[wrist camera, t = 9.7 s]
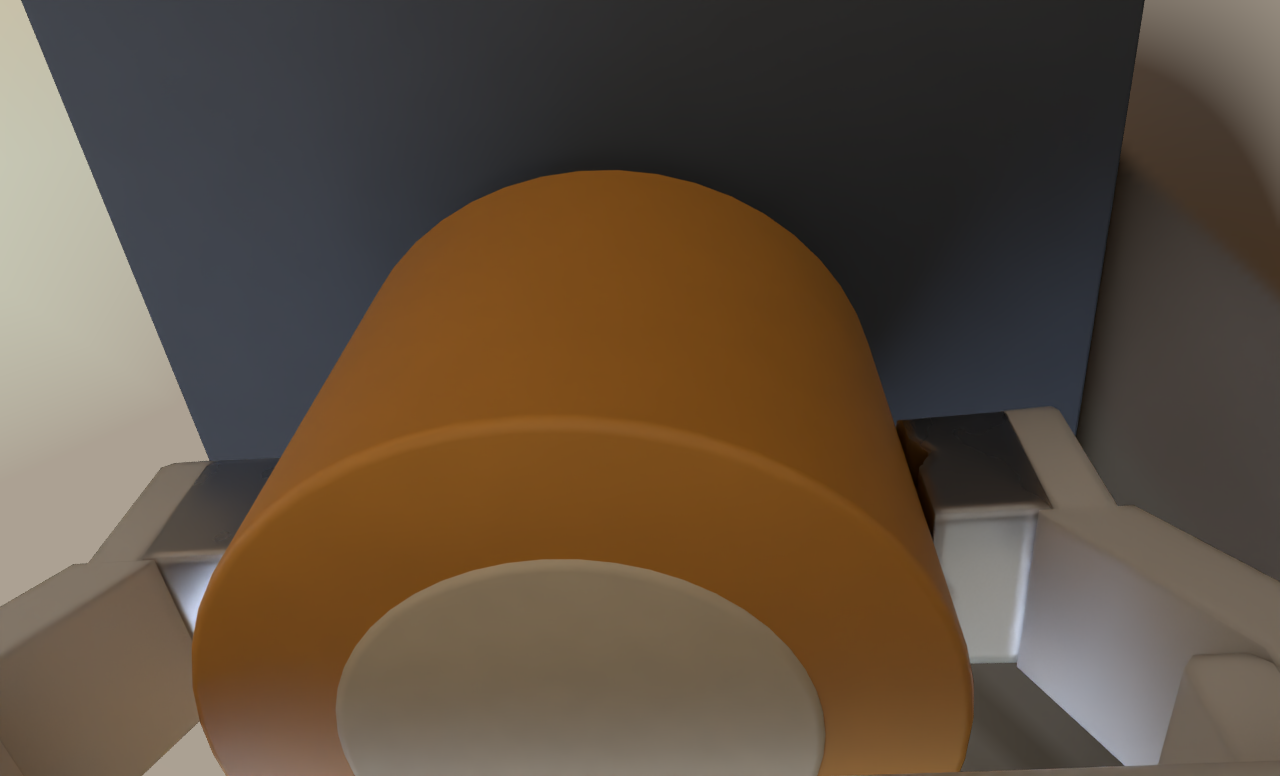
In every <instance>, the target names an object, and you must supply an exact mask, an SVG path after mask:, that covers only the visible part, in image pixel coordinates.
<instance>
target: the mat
mask: <svg viewBox="0 0 1280 776" xmlns="http://www.w3.org/2000/svg"><path fill="white" fill-rule="evenodd" d="M21 1H22V3H23V6H24V8H25V11H26V13H27V16H28V18H29V21H30V23H31V25H32V28H33V30H34V33H35V35H36V38H37V40H38V42H39V45H40V47H41V50H42V52H43V55H44V57H45V60H46V62H47V64H48V67H49V69H50V72H51V74H52V77H53V79H54V82H55V84H56V86H57V89H58V91H59V94H60V96H61V99H62V101H63V103H64V106H65V108H66V111H67V113H68V116H69V118H70V121H71V123H72V125H73V128H74V130H75V133H76V135H77V138H78V140H79V143H80V145H81V148H82V150H83V152H84V155H85V157H86V160H87V162H88V164H89V167H90V169H91V172H92V174H93V177H94V179H95V181H96V184H97V186H98V189H99V191H100V194H101V196H102V199H103V201H104V204H105V206H106V208H107V211H108V213H109V216H110V218H111V221H112V223H113V225H114V228H115V231H116V233H117V235H118V238H119V240H120V243H121V245H122V247H123V250H124V253H125V255H126V257H127V260H128V262H129V265H130V267H131V270H132V272H133V275H134V277H135V279H136V282H137V284H138V286H139V289H140V292H141V294H142V296H143V299H144V301H145V304H146V306H147V309H148V311H149V314H150V316H151V318H152V321H153V323H154V326H155V328H156V331H157V333H158V336H159V338H160V340H161V343H162V345H163V347H164V350H165V353H166V355H167V358H168V360H169V362H170V365H171V367H172V370H173V372H174V375H175V377H176V379H177V382H178V384H179V387H180V389H181V391H182V394H183V396H184V399H185V401H186V404H187V406H188V409H189V411H190V414H191V416H192V419H193V421H194V423H195V426H196V428H197V431H198V433H199V436H200V438H201V441H202V443H203V445H204V448H205V450H206V453H207V455H208V458H209V460H210V461H215V462H217V461H219V460H242V459H265V458H281V456H282V454H283V453H284V451H285V449H286V448H287V446H288V444H289V442H290V441H291V439H292V437H293V436H294V434H295V432H296V431H297V429H298V427H299V425H300V424H301V422H302V420H303V419H304V417H305V415H306V414H307V412H308V410H309V409H310V407H311V405H312V403H313V402H314V400H315V398H316V397H317V395H318V393H319V392H320V390H321V388H322V386H323V385H324V383H325V381H326V380H327V378H328V376H329V375H330V373H331V371H332V369H333V368H334V366H335V364H336V363H337V361H338V359H339V358H340V356H341V354H342V352H343V351H344V349H345V347H346V346H347V344H348V342H349V341H350V339H351V337H352V335H353V334H354V332H355V330H356V329H357V327H358V325H359V324H360V322H361V320H362V319H363V317H364V315H365V313H366V312H367V310H368V308H369V307H370V305H371V303H372V302H373V300H374V298H375V296H376V295H377V293H378V292H379V290H380V288H381V287H382V285H383V284H384V282H385V280H386V279H387V277H388V276H389V274H390V273H391V271H392V269H393V268H394V267H395V265H396V264H397V263H398V262H399V261H400V260H401V259H402V257H403V256H404V255H405V254H406V253H407V252H408V251H409V249H410V248H411V247H412V246H413V245H414V244H415V243H416V242H417V241H418V240H419V239H420V238H422V237H423V236H424V235H425V234H426V233H428V232H429V231H430V230H431V229H432V228H433V227H435V226H436V225H437V224H438V223H439V222H441V221H442V220H443V219H445V218H447V217H448V216H450V215H452V214H453V213H455V212H456V211H458V210H460V209H461V208H463V207H464V206H466V205H468V204H469V203H471V202H473V201H475V200H477V199H480V198H482V197H484V196H486V195H489V194H491V193H493V192H495V191H498V190H500V189H502V188H504V187H508V186H511V185H515V184H518V183H522V182H525V181H528V180H532V179H535V178H539V177H543V176H550V175H556V174H563V173H569V172H576V171H601V170H622V171H632V172H642V173H651V174H659V175H663V176H668V177H672V178H676V179H680V180H685V181H689V182H693V183H697V184H699V185H702V186H705V187H707V188H710V189H713V190H715V191H718V192H721V193H724V194H726V195H729V196H732V197H733V198H735V199H737V200H739V201H741V202H743V203H745V204H747V205H749V206H750V207H752V208H754V209H756V210H758V211H760V212H762V213H764V214H765V215H767V216H768V217H770V218H771V219H772V220H774V221H775V222H777V223H778V224H779V225H781V226H782V227H783V228H785V229H786V230H788V231H789V232H790V233H792V234H793V235H795V236H796V237H797V238H798V239H799V240H800V241H801V242H802V243H803V244H804V245H805V246H806V247H807V248H808V249H809V250H810V251H811V252H813V253H814V254H815V255H816V256H817V257H818V258H819V259H820V260H821V262H822V263H823V264H824V265H825V267H826V268H827V269H828V270H829V272H830V273H831V274H832V275H833V277H834V278H835V279H836V281H837V282H838V283H839V284H840V286H841V287H842V289H843V291H844V292H845V294H846V296H847V298H848V299H849V301H850V303H851V305H852V306H853V308H854V310H855V312H856V313H857V316H858V318H859V321H860V323H861V326H862V329H863V331H864V334H865V336H866V339H867V342H868V344H869V347H870V350H871V353H872V357H873V360H874V363H875V366H876V369H877V372H878V375H879V378H880V381H881V384H882V387H883V390H884V393H885V396H886V399H887V402H888V406H889V409H890V412H891V415H892V418H893V421H894V424H895V427H896V424H897V420H905V419H918V418H930V417H942V416H955V415H967V414H979V413H992V412H1000V411H1005V410H1015V409H1025V408H1035V407H1046V406H1052V407H1054V408H1056V409H1058V410H1059V411H1060V412H1061V414H1062V416H1063V417H1064V419H1065V420H1066V422H1067V424H1068V425H1069V427H1070V429H1071V430H1072V432H1073V434H1074V435H1075V437H1076V433H1077V427H1078V421H1079V414H1080V408H1081V402H1082V395H1083V389H1084V382H1085V376H1086V370H1087V363H1088V357H1089V351H1090V344H1091V338H1092V332H1093V325H1094V319H1095V313H1096V306H1097V300H1098V293H1099V287H1100V281H1101V274H1102V268H1103V262H1104V255H1105V249H1106V243H1107V236H1108V230H1109V223H1110V217H1111V211H1112V204H1113V198H1114V192H1115V185H1116V179H1117V173H1118V166H1119V160H1120V154H1121V147H1122V141H1123V134H1124V127H1125V121H1126V115H1127V108H1128V103H1129V96H1130V90H1131V84H1132V77H1133V71H1134V64H1135V58H1136V52H1137V45H1138V39H1139V33H1140V26H1141V20H1142V14H1143V7H1144V1H1145V0H21Z"/></svg>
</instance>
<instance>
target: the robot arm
mask: <svg viewBox="0 0 1280 776" xmlns="http://www.w3.org/2000/svg"><path fill="white" fill-rule="evenodd" d="M896 430H897V433H898V436H899V439H900V442H901V445H902V448H903V451H904V454H905V458H906V461H907V464H908V467H909V470H910V473H911V476H912V479H913V482H914V485H915V488H916V491H917V494H918V497H919V500H920V503H921V507H922V510H923V513H924V516H925V519H926V522H927V525H928V528H929V531H930V534H931V537H932V540H933V543H934V546H935V549H936V552H937V555H938V559H939V562H940V565H941V568H942V571H943V574H944V577H945V580H946V583H947V586H948V589H949V592H950V595H951V598H952V601H953V604H954V608H955V611H956V614H957V617H958V620H959V623H960V626H961V629H962V632H963V635H964V638H965V641H966V644H967V648H968V654H969V659H970V663H1017V667H1018V668H1019V669H1020V670H1021V671H1022V672H1023V673H1024V674H1025V675H1027V676H1028V677H1029V678H1030V679H1031V680H1032V681H1033V682H1034V683H1035V684H1036V685H1037V686H1039V687H1040V688H1041V689H1042V690H1043V691H1044V692H1045V693H1046V694H1047V695H1048V696H1049V697H1051V698H1052V699H1053V700H1054V701H1055V702H1056V703H1057V704H1058V705H1059V706H1060V707H1061V708H1062V709H1064V710H1065V711H1066V712H1067V713H1068V714H1069V715H1070V716H1071V717H1072V718H1073V719H1074V720H1076V721H1077V722H1078V723H1079V724H1080V725H1081V726H1082V727H1083V728H1084V729H1085V730H1086V731H1088V732H1089V733H1090V734H1091V735H1092V736H1093V737H1094V738H1095V739H1096V740H1097V741H1098V742H1100V743H1101V744H1102V745H1103V746H1104V747H1105V748H1106V749H1107V750H1108V751H1109V752H1110V753H1112V754H1113V755H1114V756H1115V757H1116V758H1117V759H1118V760H1119V761H1120V762H1121V763H1122V764H1124V765H1125V766H1111V767H1085V768H1058V769H1032V770H1006V771H975V772H944V773H913V774H882V775H851V776H1280V582H1279V581H1277V580H1275V579H1273V578H1272V577H1270V576H1268V575H1266V574H1264V573H1262V572H1260V571H1258V570H1256V569H1254V568H1253V567H1251V566H1249V565H1247V564H1245V563H1243V562H1241V561H1239V560H1237V559H1235V558H1233V557H1232V556H1230V555H1228V554H1226V553H1224V552H1222V551H1220V550H1218V549H1216V548H1214V547H1213V546H1211V545H1209V544H1207V543H1205V542H1203V541H1201V540H1199V539H1197V538H1195V537H1193V536H1192V535H1190V534H1188V533H1186V532H1184V531H1182V530H1180V529H1178V528H1176V527H1174V526H1173V525H1171V524H1169V523H1167V522H1165V521H1163V520H1161V519H1159V518H1157V517H1155V516H1154V515H1152V514H1150V513H1148V512H1146V511H1144V510H1142V509H1140V508H1138V507H1136V506H1134V505H1127V506H1118V505H1117V504H1116V502H1115V501H1114V499H1113V497H1112V496H1111V494H1110V492H1109V491H1108V489H1107V487H1106V486H1105V484H1104V483H1103V481H1102V479H1101V478H1100V476H1099V474H1098V473H1097V471H1096V469H1095V468H1094V466H1093V465H1092V463H1091V461H1090V460H1089V458H1088V456H1087V455H1086V453H1085V451H1084V450H1083V448H1082V447H1081V445H1080V443H1079V442H1078V440H1077V438H1076V437H1075V435H1074V434H1073V432H1072V430H1071V429H1070V427H1069V425H1068V424H1067V422H1066V420H1065V419H1064V417H1063V416H1062V414H1061V412H1060V411H1059V410H1058V409H1056V408H1054V407H1052V406H1046V407H1035V408H1025V409H1015V410H1005V411H1000V412H992V413H979V414H967V415H955V416H942V417H930V418H918V419H905V420H897V424H896ZM279 459H280V458H265V459H242V460H219V461H217V462H215V461H200V462H186V463H174V464H171V465H168V466H165V467H162V468H161V469H160V470H159V472H158V473H157V474H156V475H155V477H154V478H153V479H152V481H151V482H150V483H149V484H148V486H147V487H146V488H145V490H144V491H143V492H142V494H141V495H140V497H139V498H138V499H137V500H136V502H135V503H134V504H133V505H132V507H131V508H130V509H129V511H128V512H127V513H126V514H125V516H124V517H123V518H122V520H121V521H120V522H119V524H118V525H117V526H116V527H115V529H114V530H113V532H112V533H111V534H110V535H109V537H108V538H107V539H106V541H105V542H104V543H103V544H102V546H101V547H100V548H99V550H98V551H97V552H96V554H95V555H94V556H93V558H92V559H91V560H90V561H89V563H86V564H73V565H71V566H70V567H68V568H66V569H65V570H63V571H61V572H59V573H58V574H56V575H54V576H52V577H51V578H49V579H47V580H45V581H44V582H42V583H40V584H39V585H37V586H35V587H34V588H32V589H30V590H28V591H27V592H25V593H23V594H21V595H20V596H18V597H16V598H15V599H13V600H11V601H10V602H8V603H6V604H4V605H3V606H1V607H0V776H142V775H143V774H144V773H145V772H146V771H147V770H148V769H149V768H151V767H152V766H153V765H154V764H155V763H156V762H157V761H158V760H159V759H160V758H161V757H162V756H163V755H164V754H165V753H166V752H167V751H169V750H170V749H171V748H172V747H173V746H174V745H175V744H176V743H177V742H178V741H179V740H180V739H181V738H182V737H183V736H184V735H185V734H186V733H188V731H190V730H191V729H192V728H193V727H194V726H195V725H196V724H197V723H198V722H199V721H200V720H199V715H198V711H197V706H196V702H195V697H194V692H193V688H192V640H193V635H194V629H195V623H196V618H197V612H198V608H199V606H200V603H201V601H202V598H203V596H204V593H205V590H206V588H207V585H208V583H209V580H210V578H211V575H212V573H213V572H214V570H215V568H216V566H217V565H218V563H219V561H220V560H221V558H222V556H223V555H224V553H225V551H226V549H227V548H228V546H229V544H230V543H231V541H232V539H233V538H234V536H235V534H236V532H237V531H238V529H239V527H240V526H241V524H242V522H243V521H244V519H245V517H246V515H247V514H248V512H249V510H250V509H251V507H252V505H253V504H254V502H255V500H256V499H257V497H258V495H259V493H260V492H261V490H262V488H263V487H264V485H265V483H266V482H267V480H268V478H269V476H270V475H271V473H272V471H273V470H274V468H275V466H276V465H277V463H278V461H279Z"/></svg>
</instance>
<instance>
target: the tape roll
mask: <svg viewBox="0 0 1280 776" xmlns="http://www.w3.org/2000/svg"><path fill="white" fill-rule="evenodd" d="M192 688H193V692H194V697H195V702H196V706H197V711H198V715H199V720H200V723H201V725H202V728H203V731H204V733H205V735H206V738H207V740H208V743H209V745H210V748H211V750H212V753H213V755H214V756H215V758H216V760H217V761H218V763H219V765H220V766H221V768H222V769H223V771H224V773H225V775H226V776H851V775H882V774H913V773H944V772H960V770H961V767H962V765H963V762H964V760H965V756H966V751H967V747H968V742H969V737H970V732H971V728H972V723H973V718H974V680H973V675H972V670H971V664H970V659H969V654H968V648H967V644H966V641H965V638H964V635H963V632H962V629H961V626H960V623H959V620H958V617H957V614H956V611H955V608H954V604H953V601H952V598H951V595H950V592H949V589H948V586H947V583H946V580H945V577H944V574H943V571H942V568H941V565H940V562H939V559H938V555H937V552H936V549H935V546H934V543H933V540H932V537H931V534H930V531H929V528H928V525H927V522H926V519H925V516H924V513H923V510H922V507H921V503H920V500H919V497H918V494H917V491H916V488H915V485H914V482H913V479H912V476H911V473H910V470H909V467H908V464H907V461H906V458H905V454H904V451H903V448H902V445H901V442H900V439H899V436H898V433H897V430H896V427H895V424H894V421H893V418H892V415H891V412H890V409H889V406H888V402H887V399H886V396H885V393H884V390H883V387H882V384H881V381H880V378H879V375H878V372H877V369H876V366H875V363H874V360H873V357H872V353H871V350H870V347H869V344H868V342H867V339H866V336H865V334H864V331H863V329H862V326H861V323H860V321H859V318H858V316H857V313H856V312H855V310H854V308H853V306H852V305H851V303H850V301H849V299H848V298H847V296H846V294H845V292H844V291H843V289H842V287H841V286H840V284H839V283H838V282H837V281H836V279H835V278H834V277H833V275H832V274H831V273H830V272H829V270H828V269H827V268H826V267H825V265H824V264H823V263H822V262H821V260H820V259H819V258H818V257H817V256H816V255H815V254H814V253H813V252H811V251H810V250H809V249H808V248H807V247H806V246H805V245H804V244H803V243H802V242H801V241H800V240H799V239H798V238H797V237H796V236H795V235H793V234H792V233H790V232H789V231H788V230H786V229H785V228H783V227H782V226H781V225H779V224H778V223H777V222H775V221H774V220H772V219H771V218H770V217H768V216H767V215H765V214H764V213H762V212H760V211H758V210H756V209H754V208H752V207H750V206H749V205H747V204H745V203H743V202H741V201H739V200H737V199H735V198H733V197H732V196H729V195H726V194H724V193H721V192H718V191H715V190H713V189H710V188H707V187H705V186H702V185H699V184H697V183H693V182H689V181H685V180H680V179H676V178H672V177H668V176H663V175H659V174H651V173H642V172H632V171H622V170H601V171H576V172H569V173H563V174H556V175H550V176H543V177H539V178H535V179H532V180H528V181H525V182H522V183H518V184H515V185H511V186H508V187H504V188H502V189H500V190H498V191H495V192H493V193H491V194H489V195H486V196H484V197H482V198H480V199H477V200H475V201H473V202H471V203H469V204H468V205H466V206H464V207H463V208H461V209H460V210H458V211H456V212H455V213H453V214H452V215H450V216H448V217H447V218H445V219H443V220H442V221H441V222H439V223H438V224H437V225H436V226H435V227H433V228H432V229H431V230H430V231H429V232H428V233H426V234H425V235H424V236H423V237H422V238H420V239H419V240H418V241H417V242H416V243H415V244H414V245H413V246H412V247H411V248H410V249H409V251H408V252H407V253H406V254H405V255H404V256H403V257H402V259H401V260H400V261H399V262H398V263H397V264H396V265H395V267H394V268H393V269H392V271H391V273H390V274H389V276H388V277H387V279H386V280H385V282H384V284H383V285H382V287H381V288H380V290H379V292H378V293H377V295H376V296H375V298H374V300H373V302H372V303H371V305H370V307H369V308H368V310H367V312H366V313H365V315H364V317H363V319H362V320H361V322H360V324H359V325H358V327H357V329H356V330H355V332H354V334H353V335H352V337H351V339H350V341H349V342H348V344H347V346H346V347H345V349H344V351H343V352H342V354H341V356H340V358H339V359H338V361H337V363H336V364H335V366H334V368H333V369H332V371H331V373H330V375H329V376H328V378H327V380H326V381H325V383H324V385H323V386H322V388H321V390H320V392H319V393H318V395H317V397H316V398H315V400H314V402H313V403H312V405H311V407H310V409H309V410H308V412H307V414H306V415H305V417H304V419H303V420H302V422H301V424H300V425H299V427H298V429H297V431H296V432H295V434H294V436H293V437H292V439H291V441H290V442H289V444H288V446H287V448H286V449H285V451H284V453H283V454H282V456H281V458H280V459H279V461H278V463H277V465H276V466H275V468H274V470H273V471H272V473H271V475H270V476H269V478H268V480H267V482H266V483H265V485H264V487H263V488H262V490H261V492H260V493H259V495H258V497H257V499H256V500H255V502H254V504H253V505H252V507H251V509H250V510H249V512H248V514H247V515H246V517H245V519H244V521H243V522H242V524H241V526H240V527H239V529H238V531H237V532H236V534H235V536H234V538H233V539H232V541H231V543H230V544H229V546H228V548H227V549H226V551H225V553H224V555H223V556H222V558H221V560H220V561H219V563H218V565H217V566H216V568H215V570H214V572H213V573H212V575H211V578H210V580H209V583H208V585H207V588H206V590H205V593H204V596H203V598H202V601H201V603H200V606H199V608H198V612H197V618H196V623H195V629H194V635H193V640H192Z"/></svg>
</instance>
